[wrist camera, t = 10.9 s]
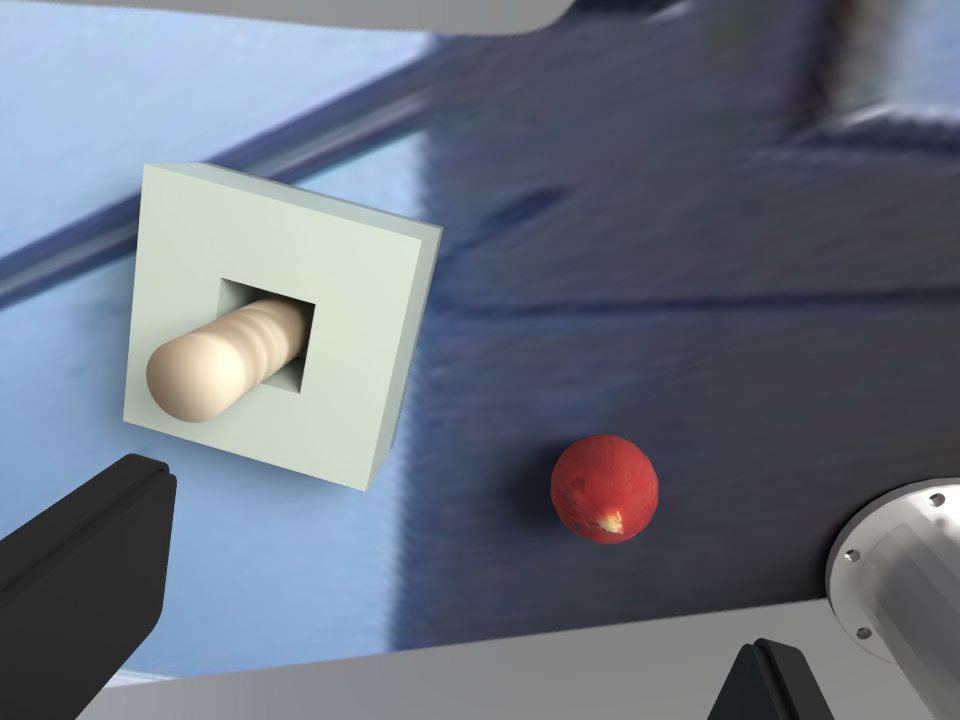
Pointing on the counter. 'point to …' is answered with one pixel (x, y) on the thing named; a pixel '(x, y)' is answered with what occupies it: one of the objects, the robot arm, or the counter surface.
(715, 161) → the counter surface
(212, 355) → the pin
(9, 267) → the counter surface
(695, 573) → the counter surface
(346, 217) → the hole block
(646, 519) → the onion
